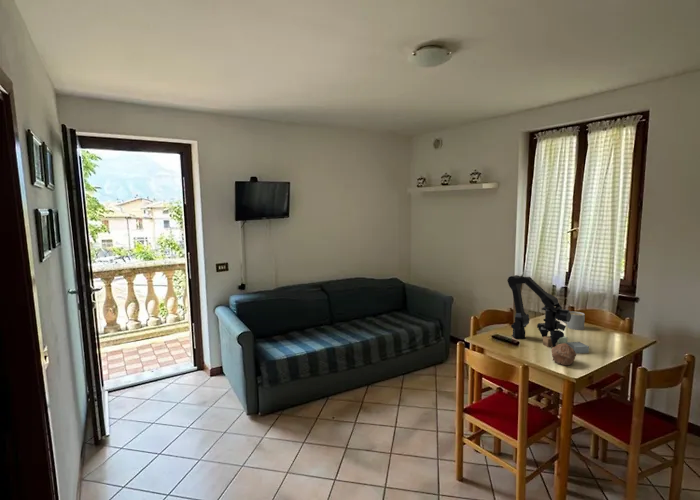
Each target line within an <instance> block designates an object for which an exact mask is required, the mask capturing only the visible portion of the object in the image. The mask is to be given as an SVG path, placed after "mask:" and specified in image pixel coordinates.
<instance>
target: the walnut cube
mask: <svg viewBox="0 0 700 500" xmlns="http://www.w3.org/2000/svg"><path fill="white" fill-rule="evenodd" d="M550 336H551V335H547V336H543V337H542V339H543V340H542V344H543V346H545V347H547V348H552V347H553V345H552V342H551V338H550Z"/></svg>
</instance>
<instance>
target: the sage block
mask: <svg viewBox="0 0 700 500" xmlns="http://www.w3.org/2000/svg"><path fill="white" fill-rule="evenodd" d="M568 339H569V338H568V336H565V335H564V337H562V338H559V339H558V341H557V343H556V344H561V343H566V342H568Z"/></svg>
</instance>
